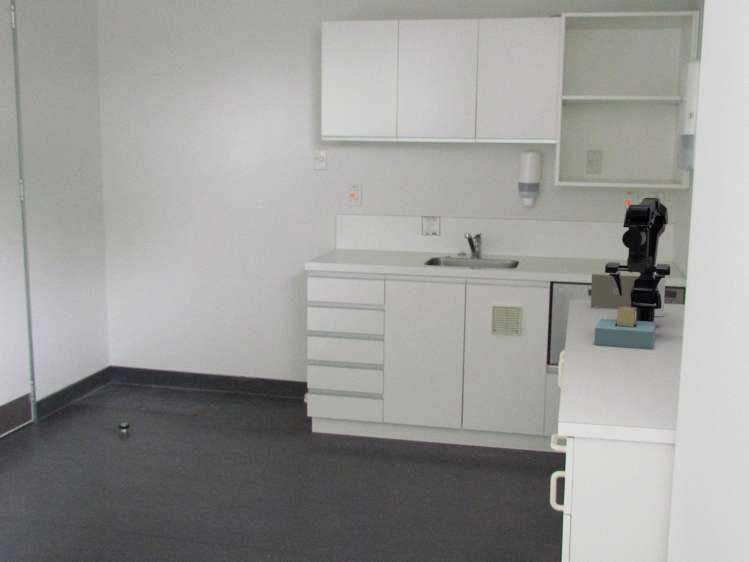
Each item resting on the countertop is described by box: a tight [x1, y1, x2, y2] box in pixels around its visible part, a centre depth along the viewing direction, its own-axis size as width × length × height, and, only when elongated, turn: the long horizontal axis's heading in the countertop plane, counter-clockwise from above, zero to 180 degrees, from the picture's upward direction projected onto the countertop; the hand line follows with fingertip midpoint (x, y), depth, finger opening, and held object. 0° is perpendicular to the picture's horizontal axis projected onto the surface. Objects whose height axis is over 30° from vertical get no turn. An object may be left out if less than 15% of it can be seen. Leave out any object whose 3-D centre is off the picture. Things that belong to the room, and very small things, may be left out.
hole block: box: [594, 318, 657, 350], centre depth 233 cm, size 16×16×5 cm
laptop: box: [590, 273, 640, 312], centre depth 292 cm, size 18×12×13 cm
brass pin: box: [616, 307, 636, 327], centre depth 232 cm, size 5×5×9 cm
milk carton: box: [640, 260, 666, 317], centre depth 275 cm, size 7×7×19 cm
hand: (636, 296), depth 241 cm, fingers open, 9 cm apart
